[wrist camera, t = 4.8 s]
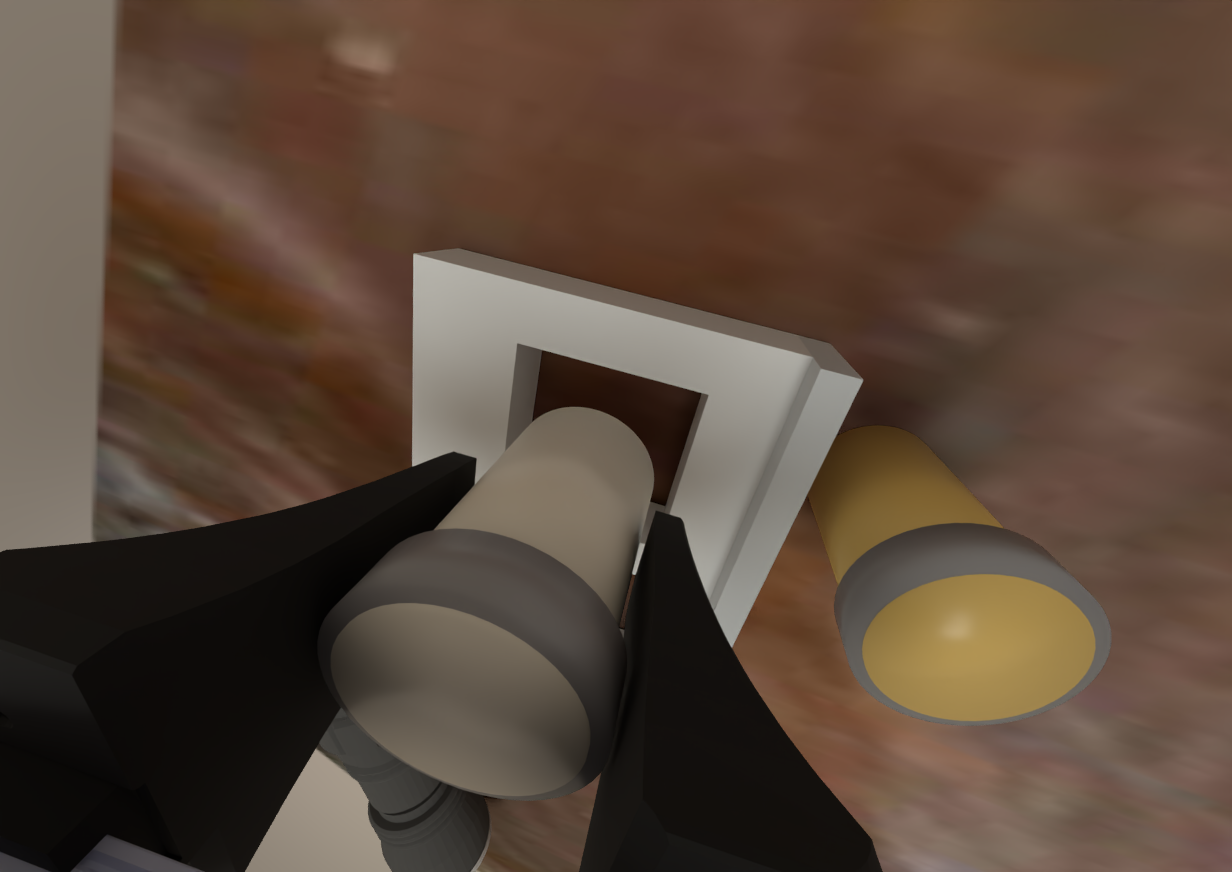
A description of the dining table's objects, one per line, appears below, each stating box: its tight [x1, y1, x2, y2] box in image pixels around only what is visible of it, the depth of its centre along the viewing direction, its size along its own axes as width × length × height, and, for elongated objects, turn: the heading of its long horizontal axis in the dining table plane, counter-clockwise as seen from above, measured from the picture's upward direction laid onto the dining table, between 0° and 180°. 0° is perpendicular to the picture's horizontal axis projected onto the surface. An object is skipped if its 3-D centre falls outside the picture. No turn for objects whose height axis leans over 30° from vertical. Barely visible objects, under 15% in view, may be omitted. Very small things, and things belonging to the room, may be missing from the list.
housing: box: [412, 248, 863, 647], centre depth 16 cm, size 12×16×4 cm
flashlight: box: [319, 708, 492, 872], centre depth 24 cm, size 15×5×5 cm, turn 8°
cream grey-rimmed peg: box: [317, 407, 654, 801], centre depth 10 cm, size 5×5×7 cm
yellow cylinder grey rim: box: [807, 425, 1111, 726], centre depth 12 cm, size 5×5×7 cm
